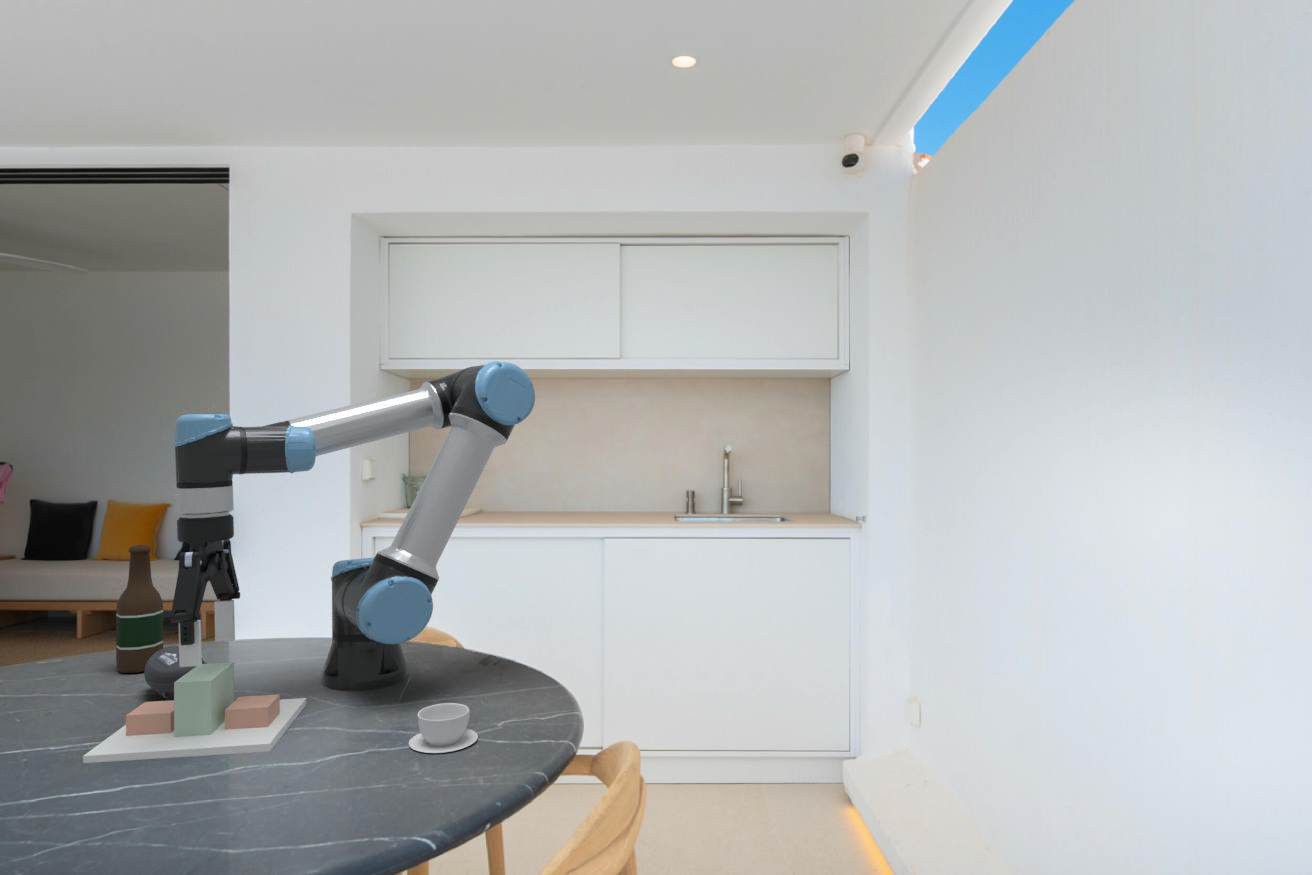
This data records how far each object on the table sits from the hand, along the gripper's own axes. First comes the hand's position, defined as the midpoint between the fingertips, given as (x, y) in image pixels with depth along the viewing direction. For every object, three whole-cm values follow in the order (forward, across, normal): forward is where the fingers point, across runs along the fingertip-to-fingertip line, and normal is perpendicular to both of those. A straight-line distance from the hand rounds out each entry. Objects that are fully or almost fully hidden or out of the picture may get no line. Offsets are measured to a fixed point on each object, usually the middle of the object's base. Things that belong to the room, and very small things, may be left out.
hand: (208, 652), depth 120 cm
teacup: (+13, +11, +36) cm, 39 cm away
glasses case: (+12, -19, -11) cm, 25 cm away
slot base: (+12, 0, -1) cm, 12 cm away
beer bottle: (+12, -39, -27) cm, 48 cm away
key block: (+11, 0, -1) cm, 11 cm away
